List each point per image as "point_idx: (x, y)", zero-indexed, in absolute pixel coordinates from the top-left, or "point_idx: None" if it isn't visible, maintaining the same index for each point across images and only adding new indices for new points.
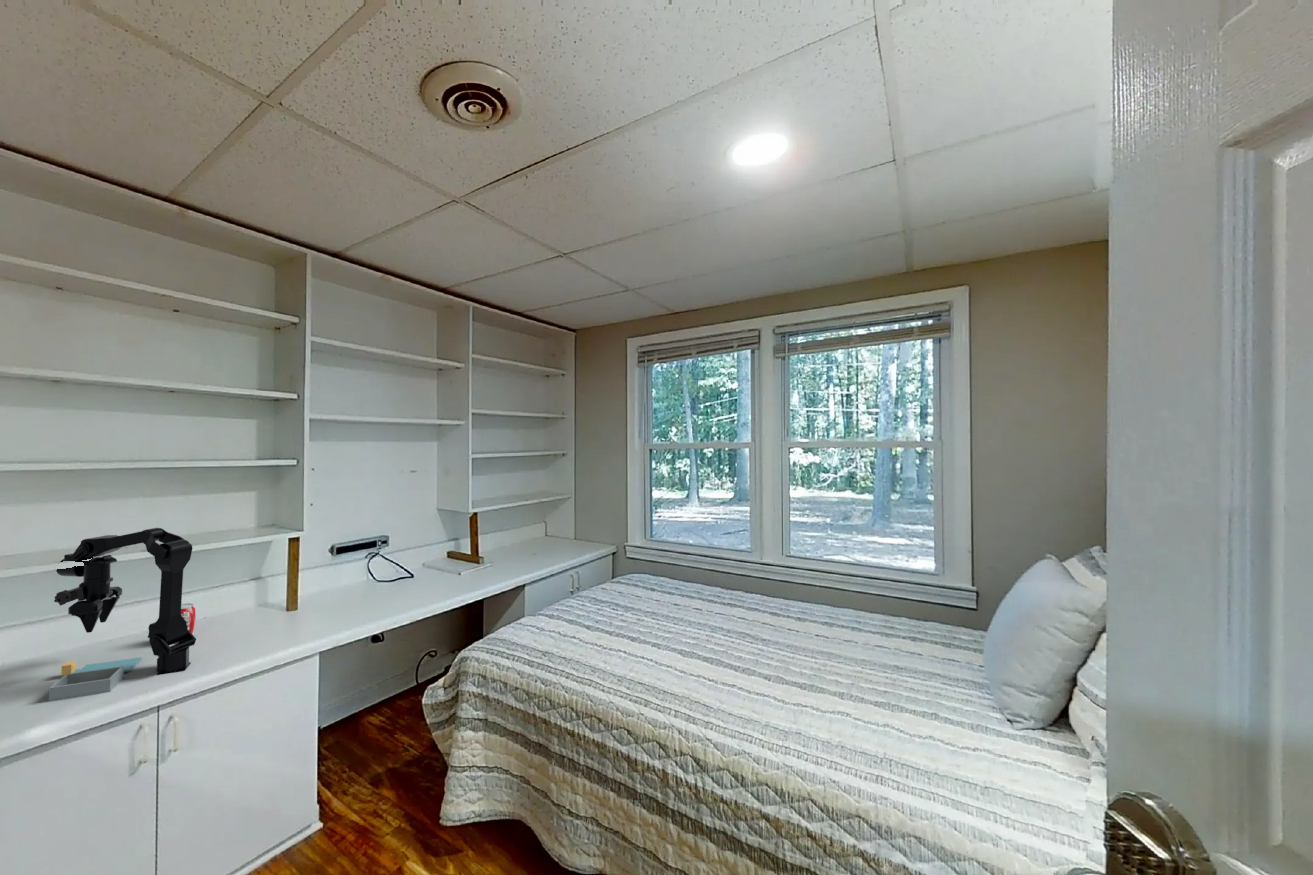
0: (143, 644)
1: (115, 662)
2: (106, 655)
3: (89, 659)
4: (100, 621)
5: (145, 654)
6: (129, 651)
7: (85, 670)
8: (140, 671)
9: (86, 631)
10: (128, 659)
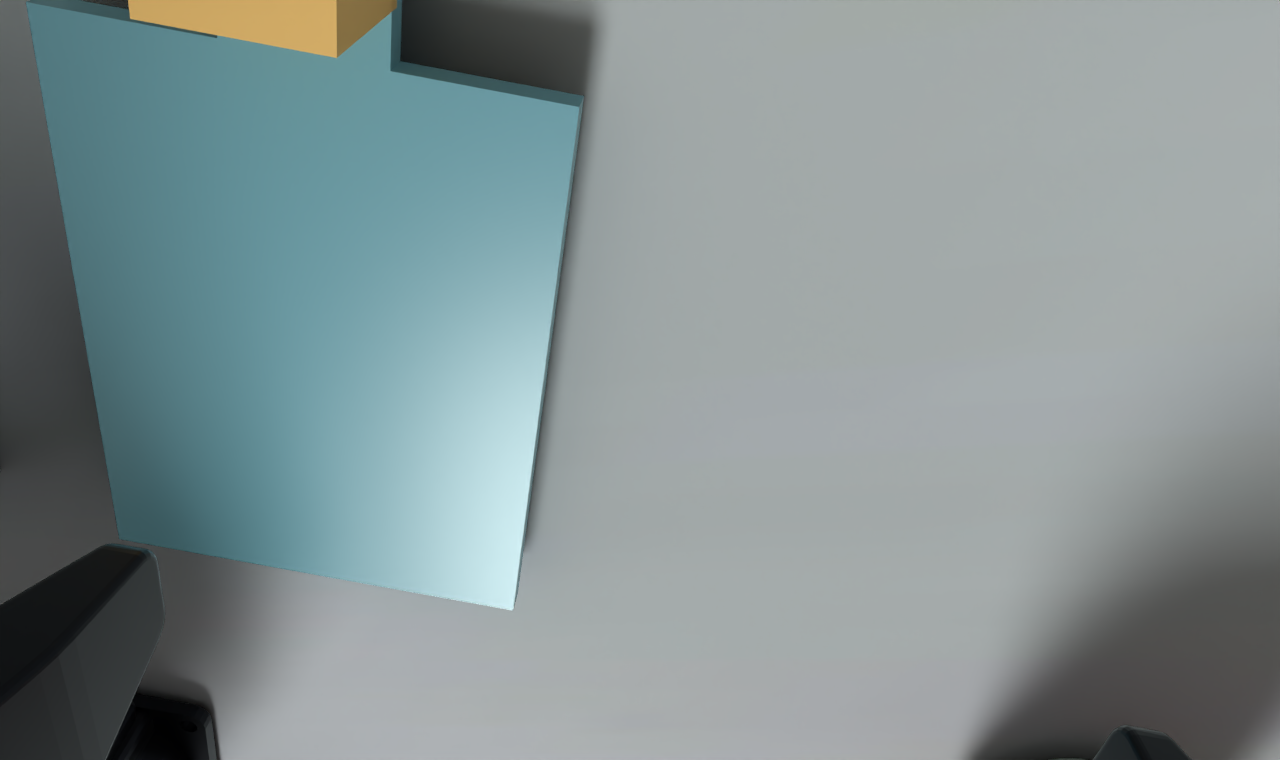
0: (1251, 565)
1: (465, 414)
2: (1112, 242)
3: (1097, 50)
4: (1134, 748)
5: (773, 589)
6: (1056, 460)
7: (291, 139)
8: (193, 570)
9: (75, 564)
10: (504, 516)
